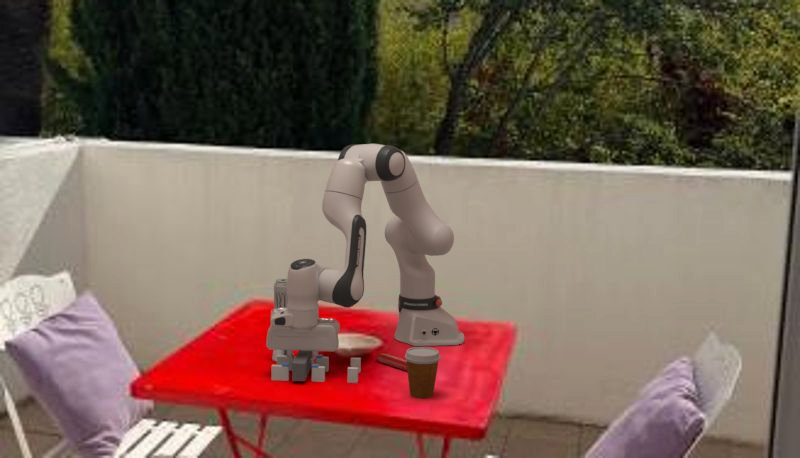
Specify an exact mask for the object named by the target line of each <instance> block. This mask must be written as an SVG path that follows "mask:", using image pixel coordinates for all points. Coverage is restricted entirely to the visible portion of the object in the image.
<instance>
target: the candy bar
mask: <svg viewBox="0 0 800 458" xmlns="http://www.w3.org/2000/svg"><path fill="white" fill-rule="evenodd" d="M374 358H375V360H376V361H377V362H379V363H381V364H386V365H388V366H391V367H395V368H396V369H399V370H400V369H401V370H404V371H407V372H408V370H407V360H406V359H403V358H400V357H397V356H393V355H390V354H388V353H377V355H376V356H375V357H374Z"/></svg>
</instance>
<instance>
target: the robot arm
mask: <svg viewBox="0 0 800 458" xmlns="http://www.w3.org/2000/svg"><path fill="white" fill-rule="evenodd" d="M367 182H380V183H381V186H382V190H383V191H384V195H385V198H386V201H387V204H388V205H389V208H390V210H391V212H392V213H393V214H394V216H393V217H391V218H389V220H388V221H387V223H386V225H385V227H384V238H385V241H386V242H387V243H388V244H389V246H390V247H391V248H392V250H393V252H394V255H395V257H396V261H397V263H398V267H399V269H398V270H399V279H400V281H399V286H400V287H399V289H400V290H399V292H400V293H399V294H398V298H397V301H398V302H397V303H398V304H397V306H398V307H397V308H398V309H397V310H398V320H397V326H396V330H395V332H394V333H395V334H394V339H395V340H397V341H399V342H401V343H405V344H409V345H410V346H412V347H413V346H414V347H429V346H430V347H431V346H459V344H460V345H462V344H463V343H464V342H465V335H464V333H463V332H462V331H460V330H459V328H458V323H457V320H456V318H455V317H454V316H453V315H452V314H450V313H449V312H448V311H446V309H444V308H443V307H442V305H443V301H442V299H441V296H439V295H437V294H436V271H435V269H434V268H433V266H432V265H431V264H430V263H429V261H428V260H427V257H426V255H427V256H430V257H431V256H435V257H436V256H445V255H447V254H448V253H449V252H450V251H451V250H452V248H453V245H454V243H455V241H454V240H455V236H454V232H453V230H452V228H451V227H450V226H449V225H447V224H446V223H445V222H444V221H443V220H441V218H439V216H438V215H437V214H436V212H435V211H434V209H433V208H432V207H431V205H430V204H429V202H428V201H427V200H426V198H425V194H424V193H423V190H422V187H421V184H420V181H419V178H418V176H417V173H416V171H415V168H414V166H413V164H412V162H411V160H410V159H409V157H408V156H407V154H406V153H405V152H404V151H403V150H402V149H399V148H398V147H396V146H393V145H389V144H386V145H385V144H379V143H366V144H364V143H363V144H358V143H354V144H348V145H346V146H345V147H344V148H343V149H342V150H341V152H340V153H339V156H338V158H337V161H336V162H335V163H334V165H333V168H332V170H331V172H330V174H329V176H328V180H327V184H326V187H325V190H324V194H323V199H322V203H321V204H322V205H321V206H322V207H321V209H322V213H323V215H324V217H325V219H326V220H327V221H328V223H330V224H331V225H332V226H334V227H335V228H337V229H338V230H340V231H341V233H343V235H344V237H345V240H346V243H345V244H346V246H345V256H344V257H345V258H344V267H343V269H336V268H331V267H326V266H322V265H320V264H318V263H317V262H316V261H315V259H311V258H302V259H297V260H294V261H292V262H291V263H290V264H289V267H288V271H287V276H286V277H287V278H286V279H287V294H288V304H287V310H284V311H281V312H277V313H275V314H274V315H273V316H272V318H271V317H270V326H269V328H268V330H267V335H266V345H265V346H266V347H267V348H268V350H287V354H288V356H289V357H290V359H291V365H292V363H293V361H294V359H295V355H294V356H293V354H294V353H293V352H294V351H299V350H302V351H313V357H312V358H309V366H311V367H312V364H315V360H316V356H317V354H319V352H336V351H338V349H339V346H340V343H339V333H340V330H341V327H340V326H341V324H340V322H339V321H338V320H337V319H335V318H333V317H330V318H326V317H319V314H320V313H319V307H320V306H319V303H318V302H319V301H321V302H324V303H330V304H335V305H337V306H340V307H344V308H346V309H348V308H351V307H353V306H355V305H357V304H358V303H359V302H360V300H361V299H362V298H363V296H364V292H365V283H364V282H365V281H364V280H365V279H364V271H365V270H364V269H365V256H366V245H367V244H366V243H367V222H366V220H365V218H364V217H363V214H362V203H363V199H364V192H365V185H366V183H367Z"/></svg>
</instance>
